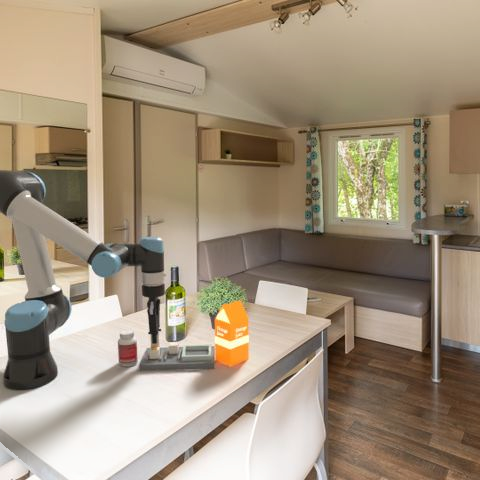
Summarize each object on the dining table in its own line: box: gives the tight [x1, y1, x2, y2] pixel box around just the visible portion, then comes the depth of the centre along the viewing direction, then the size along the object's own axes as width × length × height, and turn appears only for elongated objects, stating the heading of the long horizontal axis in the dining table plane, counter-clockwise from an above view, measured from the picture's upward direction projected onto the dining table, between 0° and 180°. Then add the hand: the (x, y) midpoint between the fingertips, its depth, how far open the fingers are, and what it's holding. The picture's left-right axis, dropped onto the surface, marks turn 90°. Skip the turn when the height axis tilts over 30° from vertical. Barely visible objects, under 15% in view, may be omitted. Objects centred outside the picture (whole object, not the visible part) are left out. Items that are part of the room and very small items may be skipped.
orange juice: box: [214, 299, 250, 367], centre depth 144 cm, size 8×9×20 cm
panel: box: [139, 344, 216, 372], centre depth 144 cm, size 24×14×4 cm, turn 93°
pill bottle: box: [117, 329, 139, 368], centre depth 142 cm, size 6×6×11 cm
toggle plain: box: [168, 341, 180, 354], centre depth 146 cm, size 3×3×3 cm
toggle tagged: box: [149, 346, 161, 359], centre depth 142 cm, size 3×3×3 cm
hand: (155, 351), depth 144 cm, fingers closed
